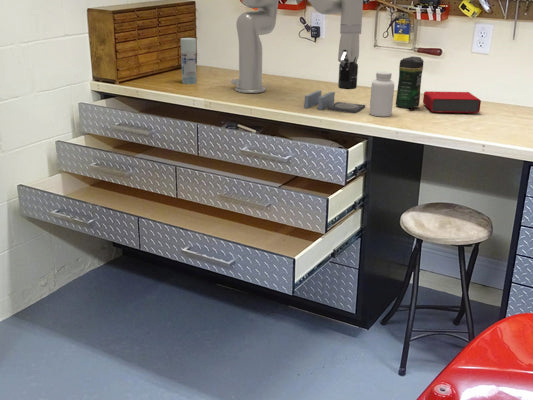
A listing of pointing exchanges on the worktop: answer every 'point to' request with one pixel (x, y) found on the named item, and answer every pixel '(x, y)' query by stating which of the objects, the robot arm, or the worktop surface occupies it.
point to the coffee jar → (409, 82)
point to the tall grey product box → (188, 60)
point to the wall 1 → (312, 99)
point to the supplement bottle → (352, 77)
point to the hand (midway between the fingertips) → (348, 79)
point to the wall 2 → (326, 100)
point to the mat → (346, 107)
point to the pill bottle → (382, 95)
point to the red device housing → (451, 102)
